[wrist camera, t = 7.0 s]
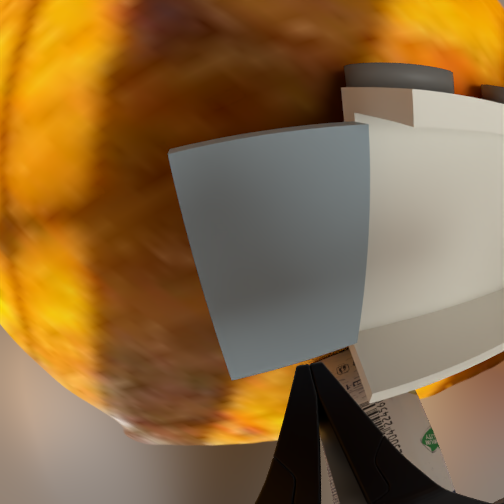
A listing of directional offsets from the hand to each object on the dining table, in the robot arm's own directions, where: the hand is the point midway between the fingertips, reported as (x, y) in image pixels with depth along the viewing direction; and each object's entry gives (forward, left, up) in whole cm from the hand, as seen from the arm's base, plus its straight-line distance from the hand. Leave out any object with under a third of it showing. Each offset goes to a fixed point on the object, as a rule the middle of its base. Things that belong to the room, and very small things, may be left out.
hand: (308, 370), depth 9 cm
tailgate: (-4, 0, -7) cm, 8 cm away
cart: (-13, 0, -12) cm, 18 cm away
